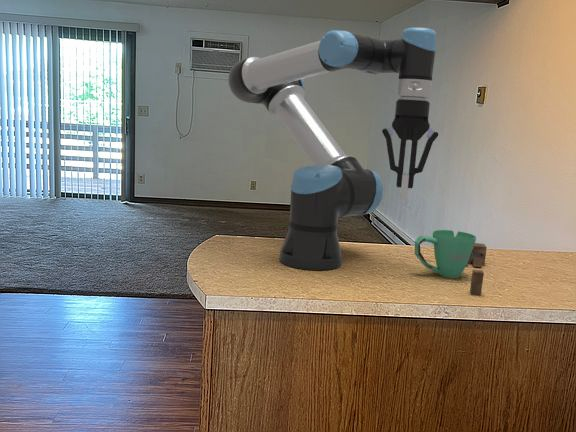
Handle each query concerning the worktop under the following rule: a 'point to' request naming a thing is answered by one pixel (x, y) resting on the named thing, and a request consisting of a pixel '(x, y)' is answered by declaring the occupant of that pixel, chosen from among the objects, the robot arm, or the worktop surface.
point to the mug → (448, 251)
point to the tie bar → (476, 259)
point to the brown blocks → (477, 274)
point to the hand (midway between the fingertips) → (403, 201)
